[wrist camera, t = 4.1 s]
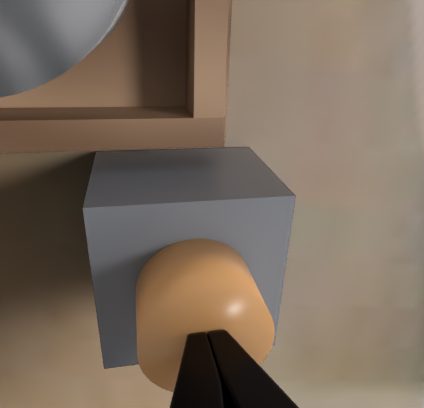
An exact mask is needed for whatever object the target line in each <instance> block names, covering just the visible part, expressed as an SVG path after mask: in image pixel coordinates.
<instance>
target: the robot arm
mask: <svg viewBox="0 0 424 408" xmlns="http://www.w3.org/2000/svg"><path fill="white" fill-rule="evenodd" d="M170 408H299V407H298V406H297V405H296V404H295V403H294V402H293V401H292V400H291V399H290V398H289V397H288V395H287V394H286V393H285V392H284V391H283V390H282V389H281V388H280V387H279V386H278V385H277V384H276V383H275V382H274V381H273V379H272V378H271V377H270V376H269V375H268V374H267V373H266V372H265V371H264V370H263V369H262V368H261V367H260V366H259V365H258V363H257V362H256V361H255V360H254V359H253V358H252V357H251V356H250V355H249V354H248V353H247V352H246V351H245V350H244V348H243V347H242V346H241V345H240V344H239V343H238V342H237V341H236V340H235V339H234V338H233V337H232V336H231V335H230V334H229V332H228V331H226V330H224V329H222V330H213V331H209V332H208V333H207V334H206V333H205V332H197V333H190V334H188V335H187V338H186V342H185V347H184V351H183V355H182V359H181V363H180V367H179V372H178V376H177V380H176V384H175V388H174V392H173V397H172V401H171V405H170Z"/></svg>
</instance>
